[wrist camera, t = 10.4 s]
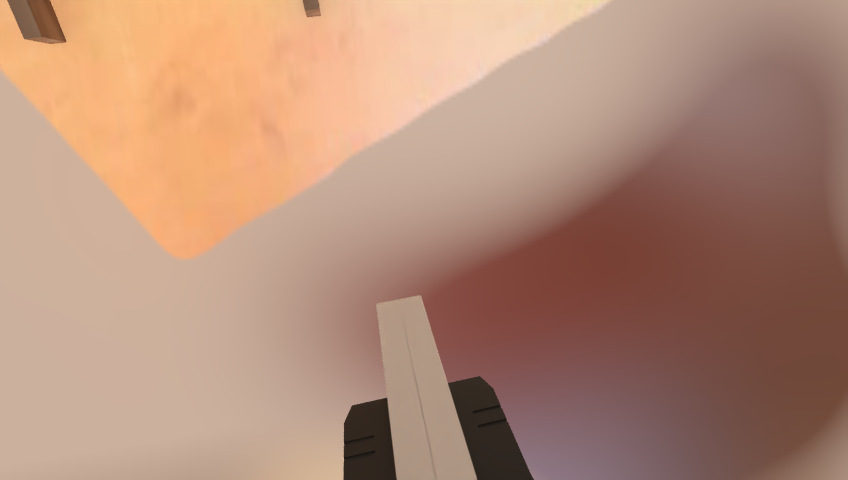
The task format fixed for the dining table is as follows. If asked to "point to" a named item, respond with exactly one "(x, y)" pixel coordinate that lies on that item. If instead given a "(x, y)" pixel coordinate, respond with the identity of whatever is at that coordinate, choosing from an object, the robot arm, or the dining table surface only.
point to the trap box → (43, 25)
